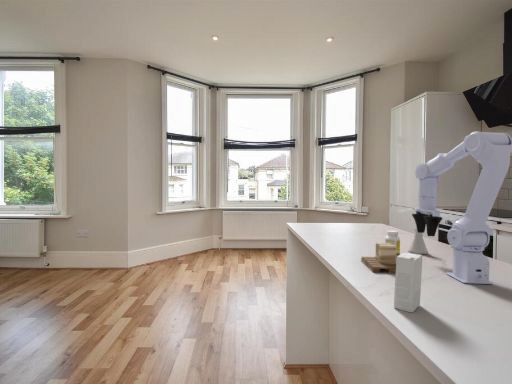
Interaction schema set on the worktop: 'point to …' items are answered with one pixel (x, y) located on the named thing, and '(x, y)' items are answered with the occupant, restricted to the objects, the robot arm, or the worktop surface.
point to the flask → (418, 244)
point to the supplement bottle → (393, 240)
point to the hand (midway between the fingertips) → (425, 234)
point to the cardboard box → (385, 253)
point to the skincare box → (408, 282)
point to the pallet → (378, 265)
